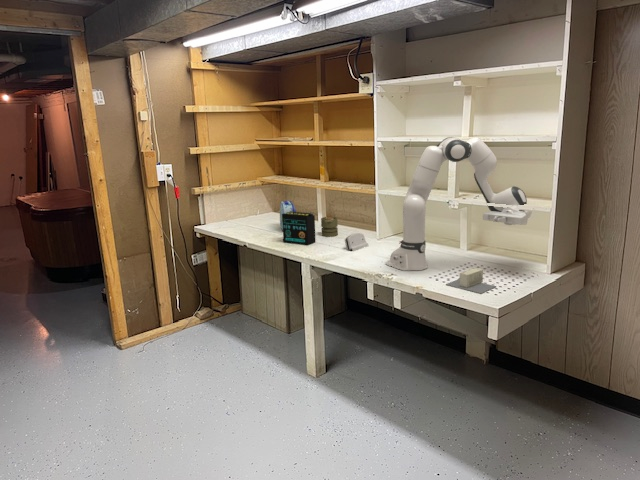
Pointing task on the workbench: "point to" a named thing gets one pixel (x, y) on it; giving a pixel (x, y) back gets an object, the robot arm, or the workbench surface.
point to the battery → (298, 228)
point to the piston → (329, 227)
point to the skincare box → (471, 277)
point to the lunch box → (285, 209)
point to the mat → (473, 287)
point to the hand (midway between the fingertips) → (495, 220)
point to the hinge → (355, 242)
